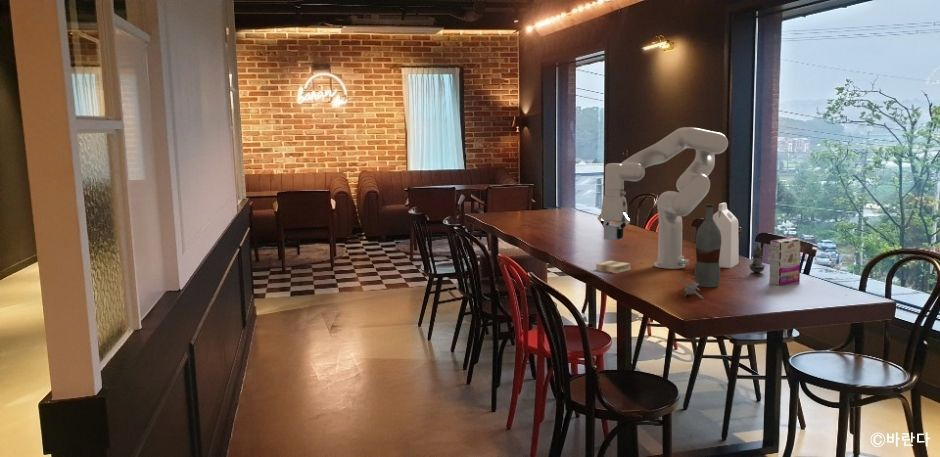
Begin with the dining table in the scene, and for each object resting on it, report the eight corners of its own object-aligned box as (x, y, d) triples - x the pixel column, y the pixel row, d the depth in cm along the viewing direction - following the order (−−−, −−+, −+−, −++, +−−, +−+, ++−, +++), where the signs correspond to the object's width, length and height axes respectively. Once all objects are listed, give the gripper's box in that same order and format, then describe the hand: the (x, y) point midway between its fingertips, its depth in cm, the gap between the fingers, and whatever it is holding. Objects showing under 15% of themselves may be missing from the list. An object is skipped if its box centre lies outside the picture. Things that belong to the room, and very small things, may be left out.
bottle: (688, 283, 269) (690, 203, 264) (707, 281, 272) (710, 202, 268) (706, 288, 260) (708, 206, 256) (725, 286, 264) (728, 204, 259)
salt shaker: (765, 273, 285) (766, 243, 283) (764, 276, 279) (765, 246, 278) (749, 272, 287) (750, 242, 285) (748, 275, 282) (749, 245, 280)
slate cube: (622, 238, 295) (623, 225, 294) (615, 240, 291) (615, 227, 290) (611, 237, 299) (611, 224, 298) (603, 239, 295) (604, 225, 294)
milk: (711, 260, 313) (713, 201, 309) (738, 263, 306) (740, 202, 303) (702, 265, 303) (704, 204, 300) (730, 268, 297) (732, 205, 293)
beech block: (630, 270, 297) (630, 263, 296) (616, 274, 290) (616, 267, 289) (610, 267, 304) (610, 260, 303) (596, 271, 297) (596, 263, 296)
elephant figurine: (704, 294, 251) (710, 291, 243) (693, 307, 251) (699, 304, 242) (681, 276, 253) (687, 272, 245) (670, 288, 253) (675, 284, 244)
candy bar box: (788, 280, 272) (790, 237, 270) (799, 282, 267) (802, 239, 265) (767, 283, 267) (769, 240, 264) (779, 286, 262) (781, 241, 260)
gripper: (637, 194, 289) (636, 238, 291) (601, 191, 301) (600, 234, 303) (627, 195, 284) (626, 240, 286) (591, 193, 295) (590, 236, 298)
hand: (613, 237), depth 295 cm, fingers closed on slate cube, 5 cm apart
